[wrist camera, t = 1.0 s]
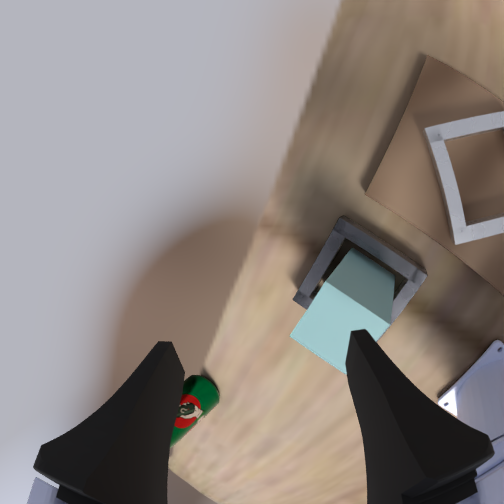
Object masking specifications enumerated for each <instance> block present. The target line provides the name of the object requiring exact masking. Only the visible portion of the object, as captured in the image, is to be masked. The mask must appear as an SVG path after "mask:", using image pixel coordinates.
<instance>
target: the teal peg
mask: <svg viewBox="0 0 504 504" xmlns="http://www.w3.org/2000/svg"><path fill="white" fill-rule="evenodd" d="M394 284H395V275H393V274H392V273H390V272H389V271H387V270H386V269H385V268H383V267H382V266H380V265H379V264H377V263H376V262H374V261H373V260H371V259H370V258H368V257H366V256H365V255H363V254H362V253H360V252H359V251H357V250H356V249H354V248H353V247H352V248H351V249H350V251H349V252H348V253H347V255H346V256H345V257H344V258H343V260H342V261H341V262H340V264H339V265H338V266H337V267H336V269H335V270H334V271H333V272H332V274H331V275H330V276H329V277H328V279H327V280H326V281H325V283H324V284H323V286H322V287H321V289H320V291H319V292H318V294H317V295H316V297H315V298H314V300H313V302H312V303H311V305H310V306H309V308H308V309H307V311H306V312H305V314H304V315H303V317H302V318H301V320H300V321H299V323H298V324H297V326H296V327H295V329H294V330H293V332H292V333H291V334H290V337H291V338H293V339H294V340H296V341H297V342H298V343H300V344H301V345H303V346H304V347H306V348H307V349H309V350H310V351H311V352H313V353H314V354H316V355H317V356H319V357H320V358H322V359H323V360H325V361H326V362H328V363H329V364H331V365H332V366H334V367H335V368H337V369H338V370H340V371H341V372H343V373H344V374H347V372H346V366H345V361H346V356H347V350H348V345H349V339H350V333H351V331H353V330H361V329H366V330H367V331H368V332H369V333H370V335H371V336H372V337H373V338H374V340H375V341H377V340H378V339H379V338H380V337H381V335H382V334H383V333H384V332H385V331H386V329H387V328H388V327H389V326H390V322H391V314H392V306H393V296H394Z"/></svg>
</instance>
